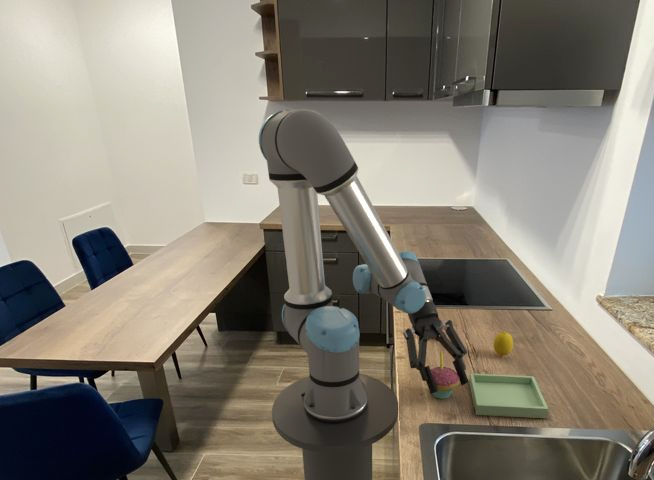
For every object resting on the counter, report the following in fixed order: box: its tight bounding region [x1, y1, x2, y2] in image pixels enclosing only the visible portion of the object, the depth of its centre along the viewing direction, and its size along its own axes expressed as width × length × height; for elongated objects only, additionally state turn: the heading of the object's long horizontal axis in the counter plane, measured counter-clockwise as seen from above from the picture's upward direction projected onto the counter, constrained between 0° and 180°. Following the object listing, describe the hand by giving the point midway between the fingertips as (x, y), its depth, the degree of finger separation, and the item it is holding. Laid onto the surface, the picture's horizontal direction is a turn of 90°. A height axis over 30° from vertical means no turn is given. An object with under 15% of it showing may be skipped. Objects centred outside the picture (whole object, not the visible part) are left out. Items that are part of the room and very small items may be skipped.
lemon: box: [493, 331, 514, 357], centre depth 132 cm, size 6×6×8 cm
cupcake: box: [430, 349, 461, 400], centre depth 112 cm, size 9×8×12 cm
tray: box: [468, 372, 549, 419], centre depth 112 cm, size 17×15×3 cm
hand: (449, 387), depth 110 cm, fingers closed on cupcake, 8 cm apart
